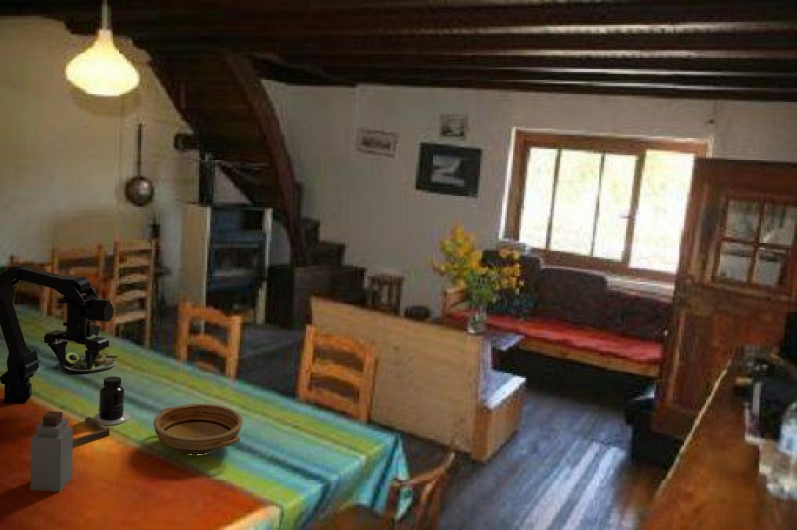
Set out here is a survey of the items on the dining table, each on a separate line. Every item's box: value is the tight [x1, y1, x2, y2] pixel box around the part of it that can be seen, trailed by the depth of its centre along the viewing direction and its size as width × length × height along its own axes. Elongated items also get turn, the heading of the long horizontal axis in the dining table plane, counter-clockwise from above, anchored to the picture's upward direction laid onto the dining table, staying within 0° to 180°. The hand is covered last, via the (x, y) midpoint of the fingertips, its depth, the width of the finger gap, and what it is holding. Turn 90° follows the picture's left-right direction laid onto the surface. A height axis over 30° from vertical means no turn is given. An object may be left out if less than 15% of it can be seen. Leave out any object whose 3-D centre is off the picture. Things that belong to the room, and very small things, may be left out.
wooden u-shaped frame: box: [72, 416, 111, 449], centre depth 183 cm, size 11×12×2 cm
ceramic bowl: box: [153, 403, 244, 456], centre depth 183 cm, size 30×24×8 cm
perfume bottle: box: [30, 410, 74, 493], centre depth 156 cm, size 7×7×18 cm
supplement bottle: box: [98, 375, 125, 421], centre depth 195 cm, size 7×7×12 cm
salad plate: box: [61, 351, 118, 375], centre depth 237 cm, size 19×18×5 cm
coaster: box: [93, 411, 131, 426], centre depth 196 cm, size 10×10×1 cm
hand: (76, 367), depth 198 cm, fingers open, 9 cm apart
